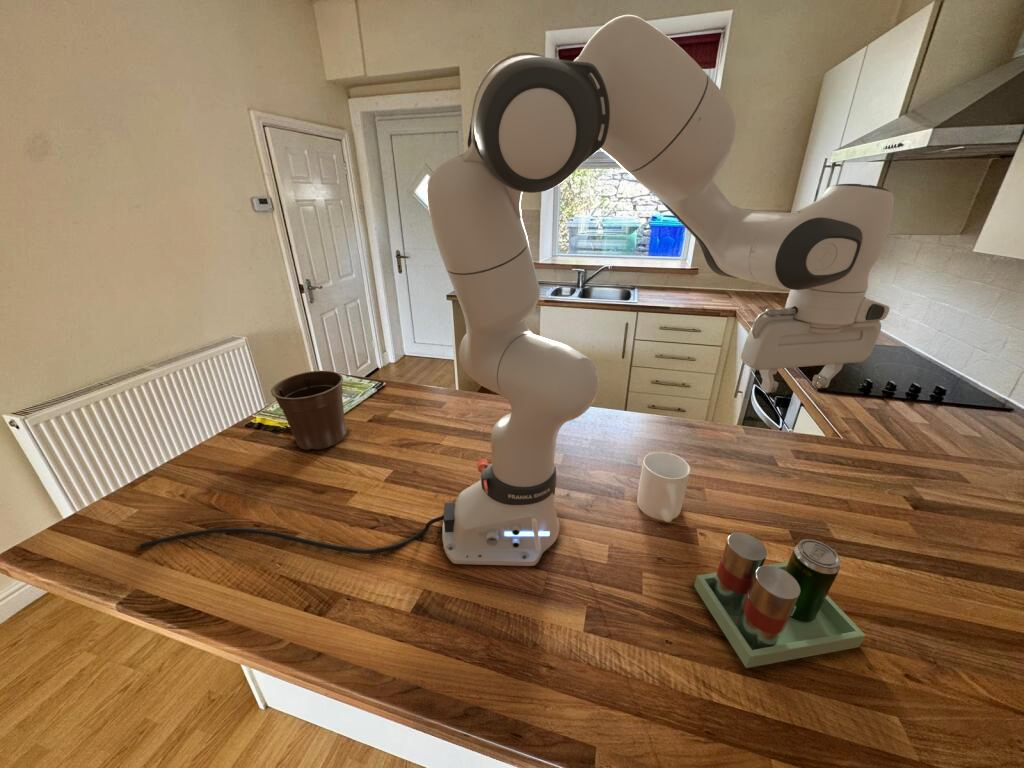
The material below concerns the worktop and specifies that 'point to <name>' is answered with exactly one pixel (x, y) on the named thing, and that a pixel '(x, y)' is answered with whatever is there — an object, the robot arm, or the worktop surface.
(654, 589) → the worktop surface
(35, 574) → the worktop surface
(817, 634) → the can tray
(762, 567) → the silver can right
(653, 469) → the mug
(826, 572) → the beer can
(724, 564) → the silver can left
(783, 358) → the robot arm
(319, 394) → the plant pot
